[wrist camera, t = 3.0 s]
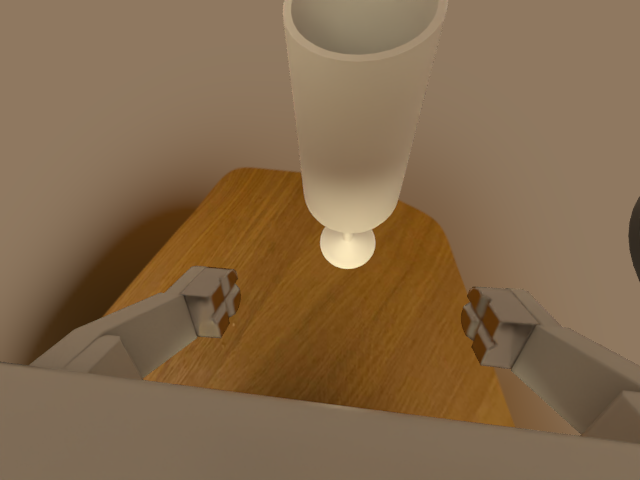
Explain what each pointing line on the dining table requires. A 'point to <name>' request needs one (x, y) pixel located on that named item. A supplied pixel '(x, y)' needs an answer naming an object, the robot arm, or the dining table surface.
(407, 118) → the champagne flute
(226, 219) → the dining table surface
